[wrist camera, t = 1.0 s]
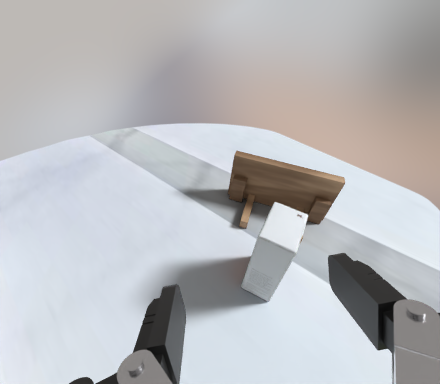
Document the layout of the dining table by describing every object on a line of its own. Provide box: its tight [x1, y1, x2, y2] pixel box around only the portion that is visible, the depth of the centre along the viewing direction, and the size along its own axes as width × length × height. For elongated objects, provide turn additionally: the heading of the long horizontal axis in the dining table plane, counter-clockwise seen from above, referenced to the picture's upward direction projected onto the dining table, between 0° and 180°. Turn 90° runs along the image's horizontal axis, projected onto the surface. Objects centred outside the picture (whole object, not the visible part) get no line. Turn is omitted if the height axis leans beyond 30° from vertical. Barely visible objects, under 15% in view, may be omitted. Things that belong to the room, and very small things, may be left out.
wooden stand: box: [228, 151, 345, 243], centre depth 39 cm, size 8×18×9 cm, turn 73°
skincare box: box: [241, 202, 308, 302], centre depth 29 cm, size 6×4×12 cm
